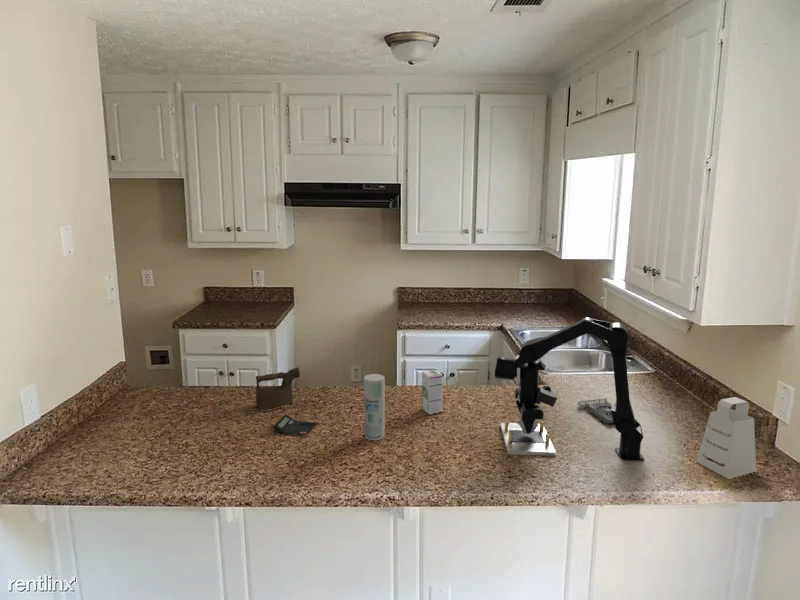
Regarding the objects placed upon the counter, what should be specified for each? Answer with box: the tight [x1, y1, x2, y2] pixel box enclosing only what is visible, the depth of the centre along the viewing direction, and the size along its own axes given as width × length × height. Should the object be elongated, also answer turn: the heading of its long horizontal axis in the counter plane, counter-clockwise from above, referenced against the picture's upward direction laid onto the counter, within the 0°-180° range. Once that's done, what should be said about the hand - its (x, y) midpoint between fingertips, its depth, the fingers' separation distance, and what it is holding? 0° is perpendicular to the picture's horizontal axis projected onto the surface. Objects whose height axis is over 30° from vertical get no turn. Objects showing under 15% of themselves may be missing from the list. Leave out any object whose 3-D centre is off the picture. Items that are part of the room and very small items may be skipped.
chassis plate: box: [499, 419, 556, 457], centre depth 169 cm, size 20×14×4 cm
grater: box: [695, 396, 757, 480], centre depth 150 cm, size 10×10×20 cm
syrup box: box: [421, 369, 443, 415], centre depth 190 cm, size 6×6×14 cm
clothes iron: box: [255, 366, 301, 411], centre depth 196 cm, size 8×16×13 cm, turn 113°
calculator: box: [272, 414, 317, 435], centre depth 177 cm, size 9×12×3 cm
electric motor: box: [516, 418, 539, 434], centre depth 167 cm, size 7×5×5 cm
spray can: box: [363, 373, 386, 441], centre depth 169 cm, size 6×6×20 cm
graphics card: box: [576, 398, 612, 424], centre depth 187 cm, size 17×4×12 cm
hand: (527, 428), depth 168 cm, fingers closed on electric motor, 5 cm apart
